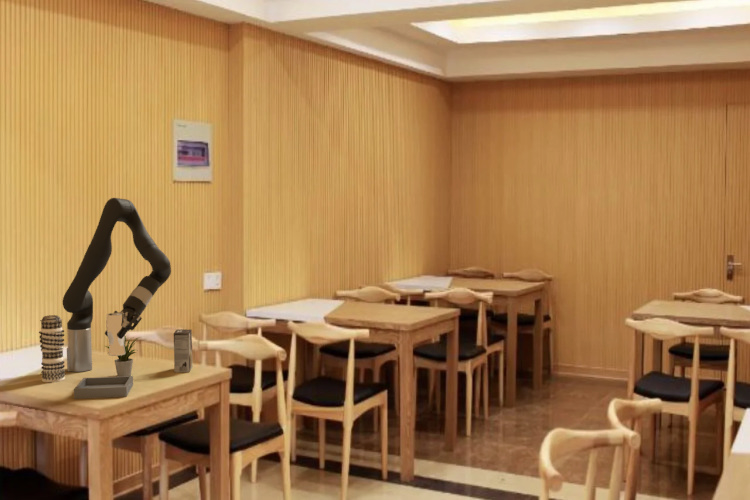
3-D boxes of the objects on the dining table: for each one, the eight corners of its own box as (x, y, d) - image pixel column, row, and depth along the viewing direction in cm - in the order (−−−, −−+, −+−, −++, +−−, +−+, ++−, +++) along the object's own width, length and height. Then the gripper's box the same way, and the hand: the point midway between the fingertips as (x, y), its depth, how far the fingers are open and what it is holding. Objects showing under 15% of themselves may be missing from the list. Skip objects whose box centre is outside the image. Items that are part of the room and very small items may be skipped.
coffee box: (177, 367, 352) (176, 329, 350) (192, 367, 352) (192, 329, 351) (173, 372, 342) (172, 333, 341) (190, 372, 343) (189, 332, 342)
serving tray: (74, 398, 301) (73, 389, 300) (83, 387, 318) (83, 377, 318) (126, 396, 303) (126, 387, 303) (133, 385, 321) (132, 376, 321)
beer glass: (130, 352, 316) (129, 313, 315) (119, 356, 310) (118, 315, 308) (114, 351, 318) (113, 312, 317) (103, 355, 312) (102, 314, 311)
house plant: (134, 369, 349) (132, 330, 348) (151, 374, 339) (150, 334, 338) (101, 374, 339) (100, 334, 338) (118, 380, 329) (117, 338, 328)
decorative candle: (63, 381, 327) (61, 317, 325) (38, 382, 326) (36, 318, 324) (68, 376, 336) (66, 314, 334) (43, 377, 335) (41, 314, 333)
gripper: (119, 293, 322) (94, 328, 314) (144, 296, 314) (119, 332, 305) (131, 305, 327) (106, 340, 319) (156, 308, 319) (131, 344, 310)
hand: (112, 336), depth 312 cm, fingers closed on beer glass, 6 cm apart
